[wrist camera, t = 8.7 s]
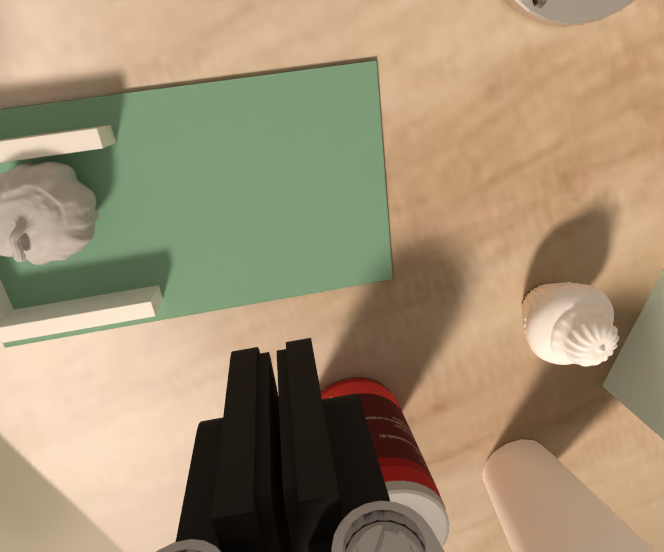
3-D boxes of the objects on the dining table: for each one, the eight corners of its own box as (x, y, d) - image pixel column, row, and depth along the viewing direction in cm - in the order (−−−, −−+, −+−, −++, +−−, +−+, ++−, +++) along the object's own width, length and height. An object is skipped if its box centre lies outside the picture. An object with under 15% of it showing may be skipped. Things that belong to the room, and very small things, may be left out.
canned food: (306, 461, 38) (324, 598, 28) (300, 380, 34) (319, 501, 24) (396, 448, 39) (446, 576, 29) (399, 368, 35) (455, 480, 25)
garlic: (77, 268, 29) (42, 305, 24) (-12, 218, 27) (-70, 247, 22) (128, 191, 27) (101, 214, 22) (38, 133, 25) (-13, 144, 21)
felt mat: (375, 60, 27) (376, 60, 27) (392, 278, 32) (392, 279, 32) (-100, 122, 24) (-103, 122, 24) (6, 345, 30) (4, 347, 30)
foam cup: (552, 499, 44) (661, 651, 32) (460, 511, 43) (539, 675, 31) (572, 419, 40) (704, 558, 29) (473, 430, 39) (568, 580, 27)
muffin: (585, 316, 36) (655, 366, 30) (515, 350, 37) (570, 406, 30) (569, 251, 34) (642, 290, 27) (493, 288, 34) (548, 335, 28)
